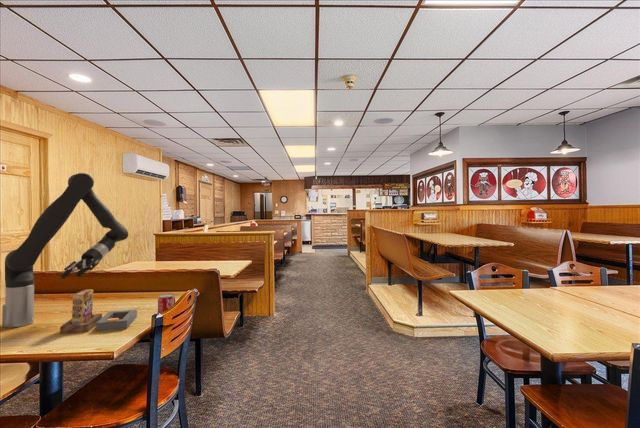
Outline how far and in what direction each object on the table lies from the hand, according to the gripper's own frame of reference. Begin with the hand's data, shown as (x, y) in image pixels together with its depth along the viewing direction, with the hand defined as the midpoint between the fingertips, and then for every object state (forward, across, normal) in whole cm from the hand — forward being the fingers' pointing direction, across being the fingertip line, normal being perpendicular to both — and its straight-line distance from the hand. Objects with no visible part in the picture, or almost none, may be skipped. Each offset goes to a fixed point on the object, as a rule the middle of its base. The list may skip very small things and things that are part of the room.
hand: (69, 276), depth 139 cm
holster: (+13, +6, +18) cm, 23 cm away
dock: (+9, +18, +23) cm, 30 cm away
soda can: (+7, +39, +28) cm, 49 cm away
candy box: (+14, +6, +18) cm, 23 cm away
